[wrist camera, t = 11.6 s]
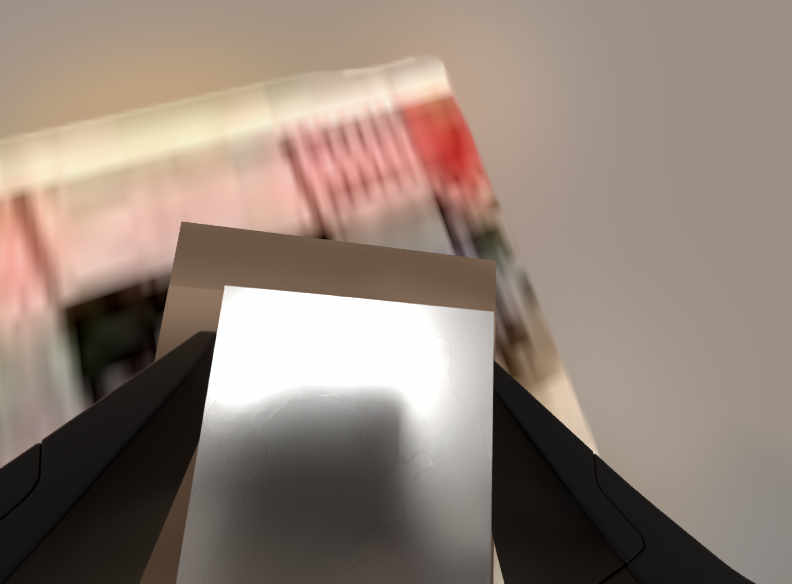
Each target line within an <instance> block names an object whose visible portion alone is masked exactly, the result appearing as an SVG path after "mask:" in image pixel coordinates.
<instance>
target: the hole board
mask: <svg viewBox="0 0 792 584" xmlns="http://www.w3.org/2000/svg"><path fill="white" fill-rule="evenodd" d="M225 285H226V286H236V287H246V288H256V289H267V290H277V291H287V292H297V293H307V294H318V295H328V296H338V297H348V298H358V299H369V300H379V301H389V302H399V303H409V304H420V305H430V306H440V307H450V308H460V309H470V310H481V311H491V312H494V346H493V360H494V361H495V312H496V261H493V260H485V259H477V258H469V257H461V256H453V255H445V254H437V253H429V252H421V251H413V250H405V249H397V248H389V247H381V246H373V245H365V244H357V243H349V242H341V241H333V240H325V239H317V238H309V237H301V236H293V235H285V234H277V233H269V232H261V231H253V230H245V229H237V228H229V227H221V226H213V225H205V224H197V223H189V222H181V227H180V233H179V238H178V243H177V248H176V253H175V258H174V263H173V269H172V274H171V279H170V284H169V289H168V294H167V300H166V305H165V310H164V315H163V320H162V325H161V330H160V336H159V341H158V346H157V351H156V356H155V361H157V360H158V359H160V358H161V357H163V356H164V355H165V354H167V353H168V352H170V351H171V350H173V349H174V348H176V347H177V346H178V345H180V344H181V343H183V342H184V341H186V340H187V339H188V338H190V337H191V336H193V335H194V334H196V333H197V332H199V331H202V330H205V331H217V330H218V324H219V318H220V312H221V306H222V300H223V294H224V287H225ZM155 361H154V362H155ZM198 446H199V442H198V445H197V447H196V450H195V452H194V454H193V457H192V459H191V462H190V464H189V466H188V469H187V471H186V473H185V476H184V478H183V481H182V483H181V485H180V488H179V490H178V493H177V495H176V497H175V500H174V502H173V504H172V507H171V509H170V512H169V514H168V516H167V519H166V521H165V524H164V526H163V528H162V531H161V533H160V535H159V538H158V540H157V543H156V545H155V547H154V550H153V552H152V555H151V557H150V559H149V562H148V564H147V566H146V569H145V571H144V574H143V576H142V578H141V581H140V583H139V584H176V580H177V574H178V568H179V562H180V556H181V549H182V543H183V537H184V531H185V525H186V519H187V513H188V507H189V501H190V495H191V489H192V482H193V476H194V470H195V464H196V458H197V452H198ZM493 555H494V540H493V536H492V532H491V582H490V584H493Z"/></svg>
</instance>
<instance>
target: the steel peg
mask: <svg viewBox="0 0 792 584" xmlns="http://www.w3.org/2000/svg"><path fill="white" fill-rule="evenodd" d="M493 346H494V312H491V311H481V310H470V309H460V308H450V307H440V306H430V305H420V304H409V303H399V302H389V301H379V300H369V299H358V298H348V297H338V296H328V295H318V294H307V293H297V292H287V291H277V290H267V289H256V288H246V287H236V286H226V285H225V287H224V294H223V300H222V306H221V312H220V318H219V324H218V330H217V336H216V342H215V348H214V355H213V361H212V367H211V373H210V379H209V385H208V391H207V397H206V403H205V409H204V415H203V422H202V428H201V434H200V440H199V446H198V452H197V458H196V464H195V470H194V476H193V482H192V489H191V495H190V501H189V507H188V513H187V519H186V525H185V531H184V537H183V543H182V549H181V556H180V562H179V568H178V574H177V580H176V584H490V582H491V503H492V425H493Z"/></svg>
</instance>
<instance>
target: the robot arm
mask: <svg viewBox="0 0 792 584" xmlns="http://www.w3.org/2000/svg"><path fill="white" fill-rule="evenodd" d="M216 336H217V331H205V330H202V331H199V332H197V333H196V334H194V335H193V336H191V337H190V338H188V339H187V340H186V341H184V342H183V343H181V344H180V345H178V346H177V347H176V348H174V349H173V350H171V351H170V352H168V353H167V354H165V355H164V356H163V357H161V358H160V359H158V360H157V361H155V362H154V363H152V364H151V365H150V366H148V367H147V368H145V369H144V370H142V371H141V372H139V373H138V374H137V375H135V376H134V377H132V378H131V379H129V380H128V381H126V382H125V383H124V384H122V385H121V386H119V387H118V388H116V389H115V390H113V391H112V392H111V393H109V394H108V395H106V396H105V397H103V398H102V399H101V400H99V401H98V402H96V403H95V404H93V405H92V406H90V407H89V408H88V409H86V410H85V411H83V412H82V413H80V414H79V415H77V416H76V417H75V418H73V419H72V420H70V421H69V422H67V423H66V424H64V425H63V426H62V427H60V428H59V429H57V430H56V431H54V432H53V433H51V434H50V435H49V436H47V437H46V438H44V439H43V440H42V442H41V443H37V444H35V445H34V446H32V447H31V448H30V449H28V450H27V451H25V452H24V453H22V454H21V455H19V456H18V457H17V458H15V459H14V460H12V461H11V462H9V463H8V464H6V465H5V466H3V467H2V468H0V584H139V583H140V581H141V578H142V576H143V574H144V571H145V569H146V566H147V564H148V562H149V559H150V557H151V555H152V552H153V550H154V547H155V545H156V543H157V540H158V538H159V535H160V533H161V531H162V528H163V526H164V524H165V521H166V519H167V516H168V514H169V512H170V509H171V507H172V504H173V502H174V500H175V497H176V495H177V493H178V490H179V488H180V485H181V483H182V481H183V478H184V476H185V473H186V471H187V469H188V466H189V464H190V462H191V459H192V457H193V454H194V452H195V450H196V447H197V445H198V442H199V440H200V434H201V428H202V422H203V415H204V409H205V403H206V397H207V391H208V385H209V379H210V373H211V367H212V361H213V355H214V348H215V342H216ZM491 532H492V536H493V540H494V544H495V548H496V552H497V556H498V560H499V564H500V568H501V572H502V576H503V580H504V584H755V583H754V582H752V581H750V580H749V579H747V578H745V577H744V576H742V575H741V574H739V573H738V572H736V571H735V570H733V569H732V568H731V567H729V566H728V565H727V564H725V563H724V562H723V561H721V560H720V559H719V558H718V557H717V556H715V555H714V554H713V553H712V552H710V551H709V550H708V549H707V548H706V547H704V546H703V545H702V544H701V543H699V542H698V541H697V540H696V539H695V538H693V537H692V536H691V535H689V534H688V533H687V532H686V531H685V530H683V529H682V528H681V527H680V526H679V525H677V524H676V523H675V522H674V521H672V520H671V519H670V518H669V517H668V516H666V515H665V514H664V513H663V512H661V511H660V510H659V509H658V508H656V507H655V506H654V505H653V504H652V503H651V502H650V501H648V500H647V499H646V498H645V497H644V496H642V495H641V494H640V493H639V492H638V491H636V490H635V489H634V488H633V487H631V485H629V484H628V483H627V482H626V481H625V480H624V479H623V478H622V477H620V476H619V475H618V474H617V473H616V472H615V471H614V470H613V469H612V468H610V467H609V466H608V465H607V464H606V463H605V462H604V461H603V460H602V459H601V458H600V457H599V456H597V455H596V454H593V451H592V450H591V449H590V448H589V447H588V446H586V445H585V444H584V443H583V442H582V441H581V440H580V439H579V438H578V437H577V436H576V435H575V434H573V433H572V432H571V431H570V430H569V429H568V428H567V427H566V426H565V425H564V424H563V423H562V422H560V421H559V420H558V419H557V418H556V417H555V416H554V415H553V414H552V413H551V412H550V411H549V410H547V409H546V408H545V407H544V406H543V405H542V404H541V403H540V402H539V401H538V400H537V399H536V398H534V397H533V396H532V395H531V394H530V393H529V392H528V391H527V390H526V389H525V388H524V387H523V386H521V385H520V384H519V383H518V382H517V381H516V380H515V379H514V378H513V377H512V376H511V375H510V374H508V373H507V372H506V371H505V370H504V369H503V368H502V367H501V366H500V365H499V364H498V363H497V362H495V361H494V360H493V425H492V503H491Z"/></svg>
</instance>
